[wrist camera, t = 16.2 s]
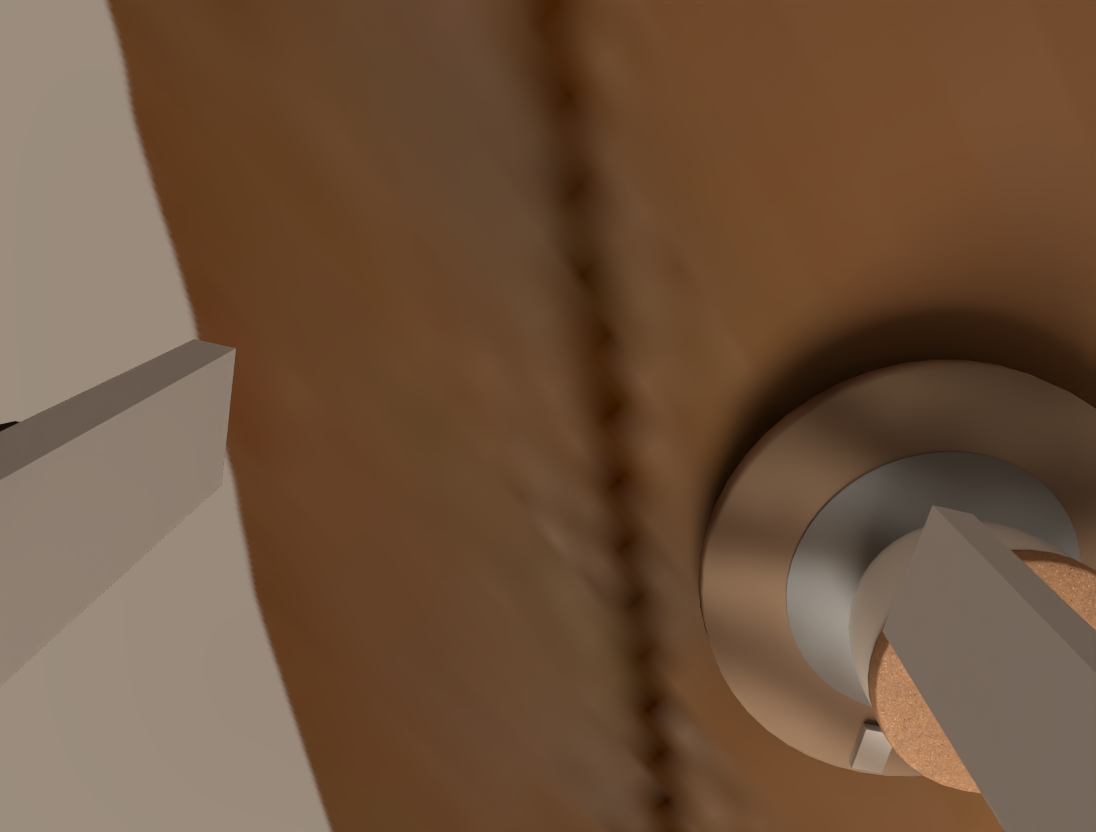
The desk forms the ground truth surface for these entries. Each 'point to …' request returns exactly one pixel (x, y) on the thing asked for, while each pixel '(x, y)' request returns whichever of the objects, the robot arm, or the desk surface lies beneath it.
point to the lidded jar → (885, 674)
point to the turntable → (875, 527)
